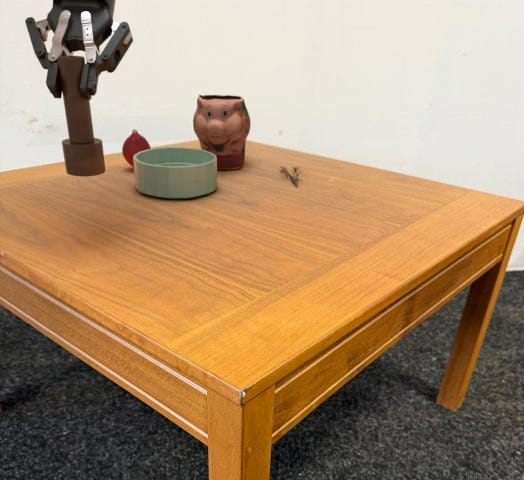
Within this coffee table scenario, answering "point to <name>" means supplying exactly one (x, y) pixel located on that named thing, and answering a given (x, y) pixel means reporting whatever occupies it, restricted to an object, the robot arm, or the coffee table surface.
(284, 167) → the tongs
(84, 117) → the pestle
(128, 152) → the onion
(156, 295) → the coffee table surface
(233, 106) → the decorative planter
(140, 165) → the bowl
